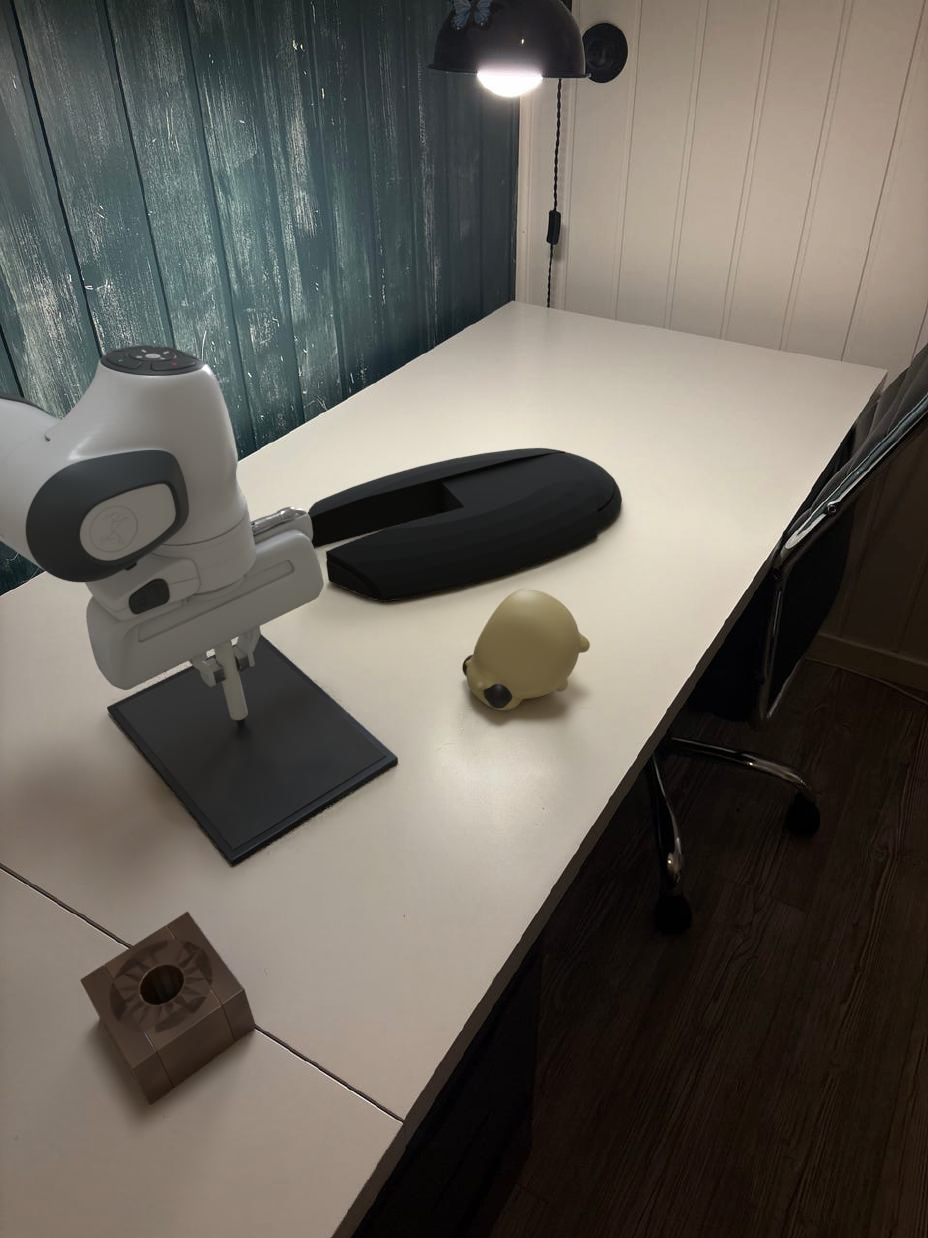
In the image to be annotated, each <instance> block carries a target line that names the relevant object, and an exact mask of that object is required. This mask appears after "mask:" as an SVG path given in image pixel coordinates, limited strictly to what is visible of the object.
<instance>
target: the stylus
mask: <svg viewBox="0 0 928 1238" xmlns="http://www.w3.org/2000/svg"><path fill="white" fill-rule="evenodd" d="M213 651H214V654H215V656H216V660H217V663H219V664H220V665H221V666H222V667H223V670H224V674H223V675H224V676H225V681H223V682H222V684H223V688H224V692H225V696H226V700H227V704H228V708H229V712H230V716H231V718H232V719H234V720H236V722H237V724H239V725H242V724H244V723H245V717H246V716H247V714H248V711H247V707H246V702H245V698H244V694H243V689H242V685H241V681H240V676H239V672H238V668H237V663H236V659H235V655H234V650H233V642H232V640H230V641H228V642H226V643H224V644H222V645H220V646H218V647H216V648H214V649H213Z"/></svg>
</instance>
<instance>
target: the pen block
mask: <svg viewBox="0 0 928 1238" xmlns="http://www.w3.org/2000/svg"><path fill="white" fill-rule="evenodd" d="M80 984H81V985H82V988H84V990H85V992H86V995H87V996H88V999H89V1000H90V1003H91V1004H92V1006H93V1008H94V1010H95V1012H96V1014H97V1016H98V1017H99V1019H100V1021H101V1023H102V1025H103V1027H104V1029H106V1032H107V1033H108V1035H109V1036H110V1039H111V1040H112V1042H113V1043H114V1045H115V1047H116V1049H117V1051H118V1052H119V1054H120V1055H121V1057H122V1059H123V1061H124V1063H125V1064H126V1067H127V1068H128V1070H129V1072H130V1074H131V1075H132V1077H133V1078H134V1080H135V1082H136V1084H137V1085H138V1088H139V1089H140V1090H141V1092H142V1094H143V1096H144V1097H145V1100H146V1101H147V1103H148V1104H149V1106H150V1105H153V1104H155V1102H157V1101H158V1100H159V1099H161V1098H162V1097H164V1096H165V1095H166V1094H168V1093H170V1092H171V1091H172V1090H173V1089H174V1088H176V1087H178V1086H179V1085H180V1084H182V1083H183V1082H184V1081H186V1080H187V1079H189V1078H190V1077H191V1076H192V1075H194V1074H195V1073H197V1072H198V1071H199V1070H200V1069H202V1068H203V1067H204V1066H206V1065H207V1064H209V1063H210V1062H211V1061H214V1059H216V1058H217V1057H218V1056H219V1055H221V1054H222V1053H223V1052H225V1051H226V1050H227V1049H229V1048H230V1047H232V1046H233V1045H235V1044H236V1043H237V1042H238V1041H239V1040H241V1039H242V1038H244V1037H245V1036H246V1035H248V1034H249V1033H250V1032H251V1031H253V1030H254V1029H256V1028H257V1025H256V1021H255V1018H254V1015H253V1012H252V1009H251V1006H250V1003H249V999H248V995H247V993H246V990H245V989H246V988H245V987H244V986H243V984H241V982H240V981H239V979H238V978H237V976H236V975H235V973H233V971H232V969H230V967H229V965H228V964H227V963H226V961H225V960H224V958H223V957H222V956H221V954H220V953H219V952H218V950H217V949H216V948H215V946H214V944H212V942H211V940H210V939H209V938H208V936H207V935H206V934H205V933H204V931H203V930H202V928H201V927H200V926H199V923H197V921H196V920H195V918H194V917H193V916H192V915H191V913H190V912H189V911H186V912H184V913H183V914H180V916H178V917H176V918H175V919H173V920H171V921H170V922H168V923H167V924H165V925H164V926H162V927H161V928H159V929H157V930H156V931H153V933H151V934H150V935H148V936H146V937H145V938H143V939H141V940H140V941H138V942H136V943H135V944H134V945H132V946H130V947H129V948H128V949H126V950H124V951H123V952H121V953H120V954H118V955H116V956H115V957H113V958H111V959H110V960H108V961H107V962H106V963H104V964H102V965H101V966H99V967H98V968H96V969H95V970H93V971H91V972H90V973H89V974H86V975H85V976H84V977H82V978H81V979H80Z"/></svg>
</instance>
